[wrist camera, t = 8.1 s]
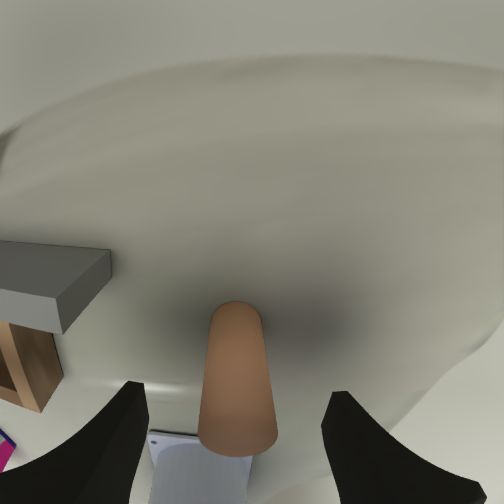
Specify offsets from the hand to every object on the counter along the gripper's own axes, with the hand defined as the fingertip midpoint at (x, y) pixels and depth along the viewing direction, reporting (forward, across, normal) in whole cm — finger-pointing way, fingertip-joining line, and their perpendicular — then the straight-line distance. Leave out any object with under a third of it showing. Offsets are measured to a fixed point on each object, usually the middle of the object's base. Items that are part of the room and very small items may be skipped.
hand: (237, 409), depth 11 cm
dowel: (+7, 0, 0) cm, 7 cm away
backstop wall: (+7, +16, -3) cm, 18 cm away
